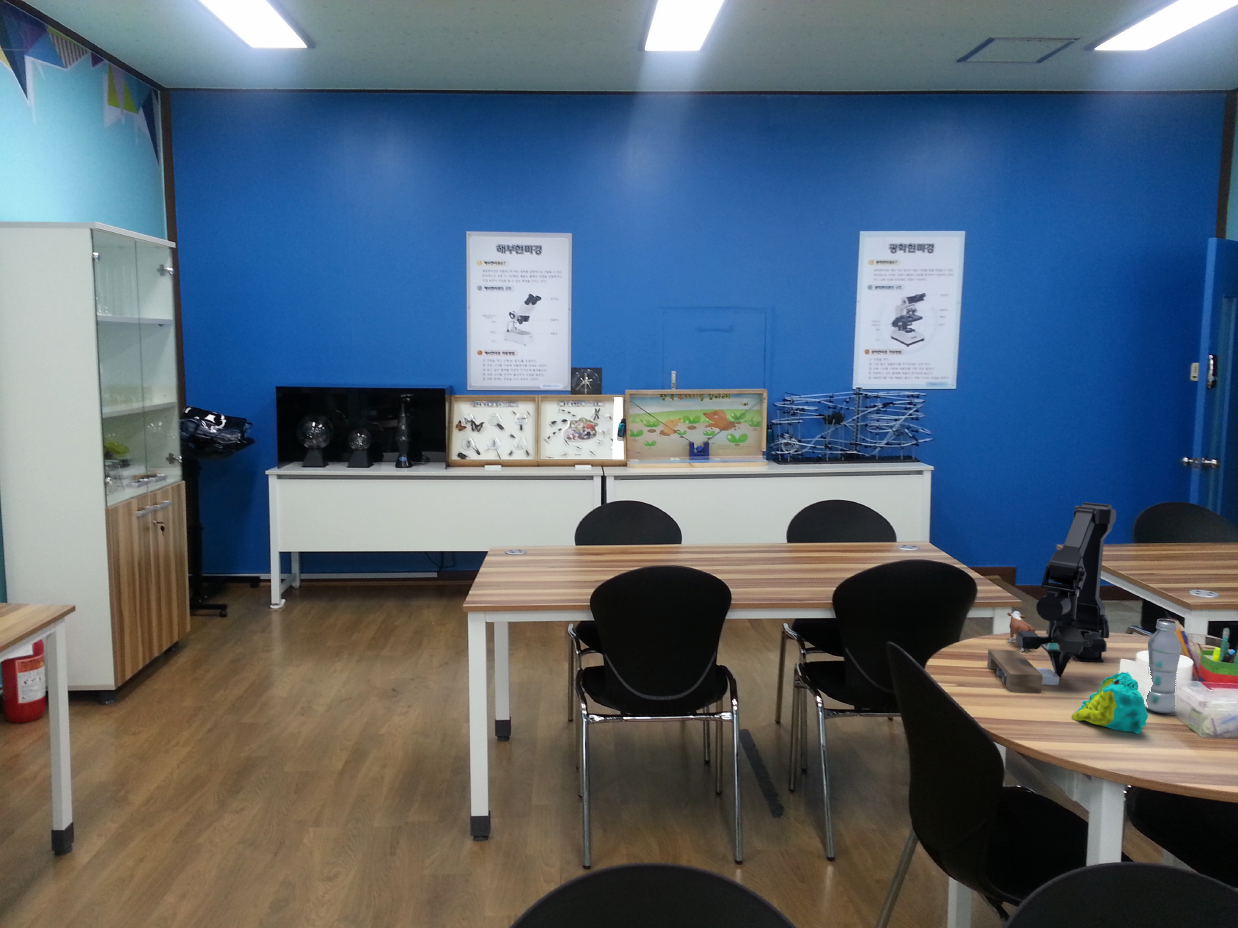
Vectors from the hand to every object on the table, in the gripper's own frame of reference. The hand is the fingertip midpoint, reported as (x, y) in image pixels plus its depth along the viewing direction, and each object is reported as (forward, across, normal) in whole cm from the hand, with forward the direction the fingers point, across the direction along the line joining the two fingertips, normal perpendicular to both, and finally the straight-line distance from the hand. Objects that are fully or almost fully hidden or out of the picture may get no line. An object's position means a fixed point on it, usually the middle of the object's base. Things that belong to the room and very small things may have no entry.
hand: (1058, 676), depth 224 cm
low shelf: (+1, -10, 0) cm, 10 cm away
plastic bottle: (+1, +15, -17) cm, 23 cm away
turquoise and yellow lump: (+1, +2, -26) cm, 26 cm away
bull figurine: (+1, -1, +27) cm, 27 cm away
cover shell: (+1, -6, 0) cm, 6 cm away
